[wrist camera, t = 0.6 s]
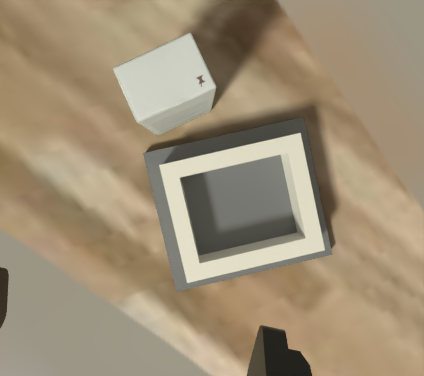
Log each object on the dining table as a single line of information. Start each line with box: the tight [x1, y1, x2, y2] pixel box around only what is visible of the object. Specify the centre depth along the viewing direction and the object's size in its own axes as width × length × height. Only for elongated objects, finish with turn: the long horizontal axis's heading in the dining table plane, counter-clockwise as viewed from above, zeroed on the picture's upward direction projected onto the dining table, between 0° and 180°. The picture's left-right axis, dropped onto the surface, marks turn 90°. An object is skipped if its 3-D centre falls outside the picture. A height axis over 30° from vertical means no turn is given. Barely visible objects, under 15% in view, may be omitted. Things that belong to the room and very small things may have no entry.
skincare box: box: [113, 33, 216, 135], centre depth 32 cm, size 6×4×12 cm
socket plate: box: [143, 117, 332, 292], centre depth 36 cm, size 14×16×4 cm
